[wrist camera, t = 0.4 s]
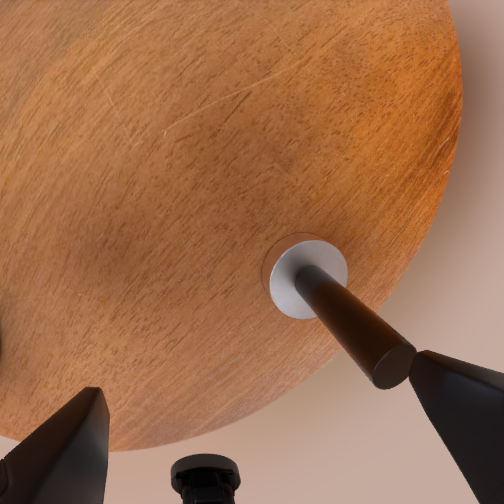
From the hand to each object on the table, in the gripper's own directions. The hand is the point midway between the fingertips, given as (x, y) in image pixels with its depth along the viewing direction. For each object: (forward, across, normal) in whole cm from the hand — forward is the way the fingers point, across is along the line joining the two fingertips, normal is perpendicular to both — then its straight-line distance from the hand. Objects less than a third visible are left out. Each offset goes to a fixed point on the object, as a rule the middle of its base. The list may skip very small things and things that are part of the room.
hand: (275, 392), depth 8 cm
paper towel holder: (+12, -5, +1) cm, 13 cm away
